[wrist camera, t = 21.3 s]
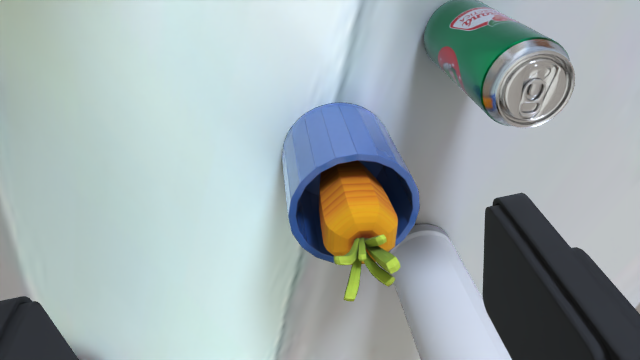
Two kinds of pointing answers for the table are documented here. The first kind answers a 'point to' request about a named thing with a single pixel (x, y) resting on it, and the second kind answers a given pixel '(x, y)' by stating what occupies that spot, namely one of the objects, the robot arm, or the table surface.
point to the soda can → (500, 63)
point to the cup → (335, 148)
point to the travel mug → (443, 300)
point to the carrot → (357, 223)
